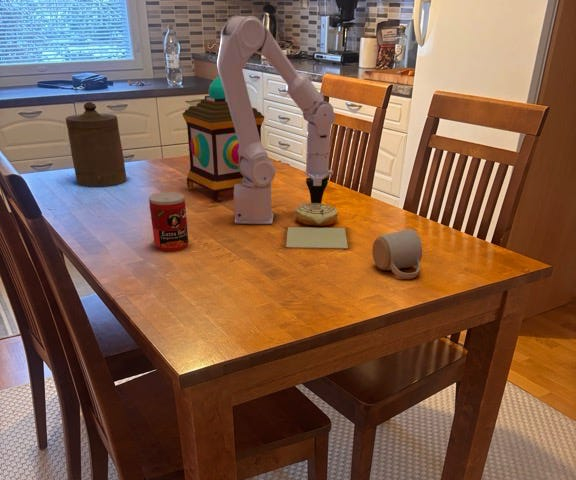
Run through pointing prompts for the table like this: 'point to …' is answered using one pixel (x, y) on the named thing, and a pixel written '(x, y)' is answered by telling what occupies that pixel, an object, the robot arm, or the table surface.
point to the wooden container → (96, 148)
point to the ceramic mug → (398, 252)
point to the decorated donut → (316, 214)
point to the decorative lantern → (214, 142)
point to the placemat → (316, 238)
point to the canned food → (169, 221)
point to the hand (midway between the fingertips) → (316, 207)
